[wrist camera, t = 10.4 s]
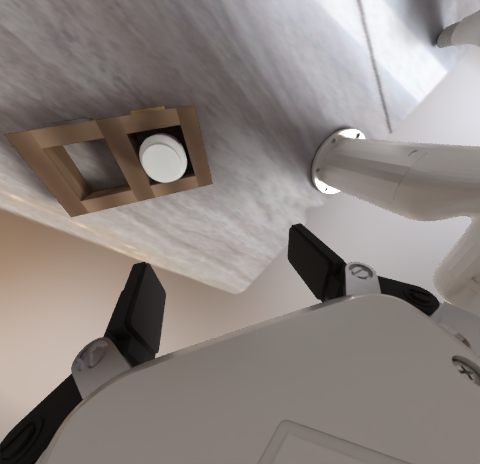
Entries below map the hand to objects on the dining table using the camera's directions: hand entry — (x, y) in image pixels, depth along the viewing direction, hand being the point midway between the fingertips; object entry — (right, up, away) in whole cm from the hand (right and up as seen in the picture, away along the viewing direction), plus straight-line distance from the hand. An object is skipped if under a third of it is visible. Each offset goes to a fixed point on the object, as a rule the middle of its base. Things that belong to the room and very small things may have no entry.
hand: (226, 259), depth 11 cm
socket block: (-15, +13, +14) cm, 24 cm away
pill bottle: (-10, +14, +15) cm, 23 cm away
